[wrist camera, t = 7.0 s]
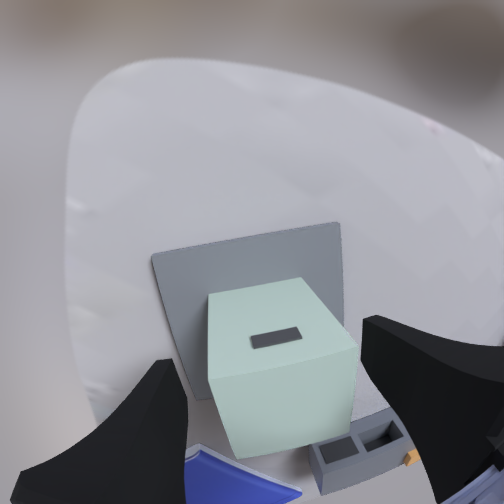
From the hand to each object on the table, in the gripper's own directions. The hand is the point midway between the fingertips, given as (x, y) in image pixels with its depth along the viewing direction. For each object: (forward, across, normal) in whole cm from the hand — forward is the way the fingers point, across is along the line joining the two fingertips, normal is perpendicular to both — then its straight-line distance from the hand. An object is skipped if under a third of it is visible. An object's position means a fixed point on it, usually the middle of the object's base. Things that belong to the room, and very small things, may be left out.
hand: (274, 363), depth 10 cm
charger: (+3, 0, 0) cm, 3 cm away
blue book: (+4, +5, +16) cm, 17 cm away
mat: (+3, 0, 0) cm, 3 cm away
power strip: (+3, -6, +12) cm, 14 cm away
